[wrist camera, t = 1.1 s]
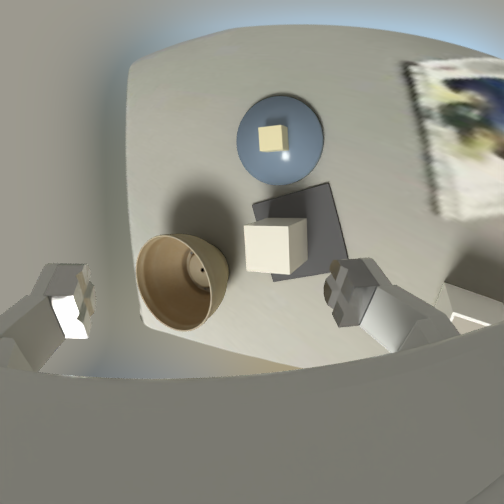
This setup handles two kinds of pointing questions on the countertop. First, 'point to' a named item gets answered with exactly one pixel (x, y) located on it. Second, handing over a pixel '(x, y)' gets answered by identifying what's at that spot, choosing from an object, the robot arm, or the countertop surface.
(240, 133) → the plate
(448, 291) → the storage container
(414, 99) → the countertop surface
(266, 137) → the butter
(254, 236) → the white rectangular block
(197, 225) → the countertop surface
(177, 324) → the planter bowl
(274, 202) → the mat
